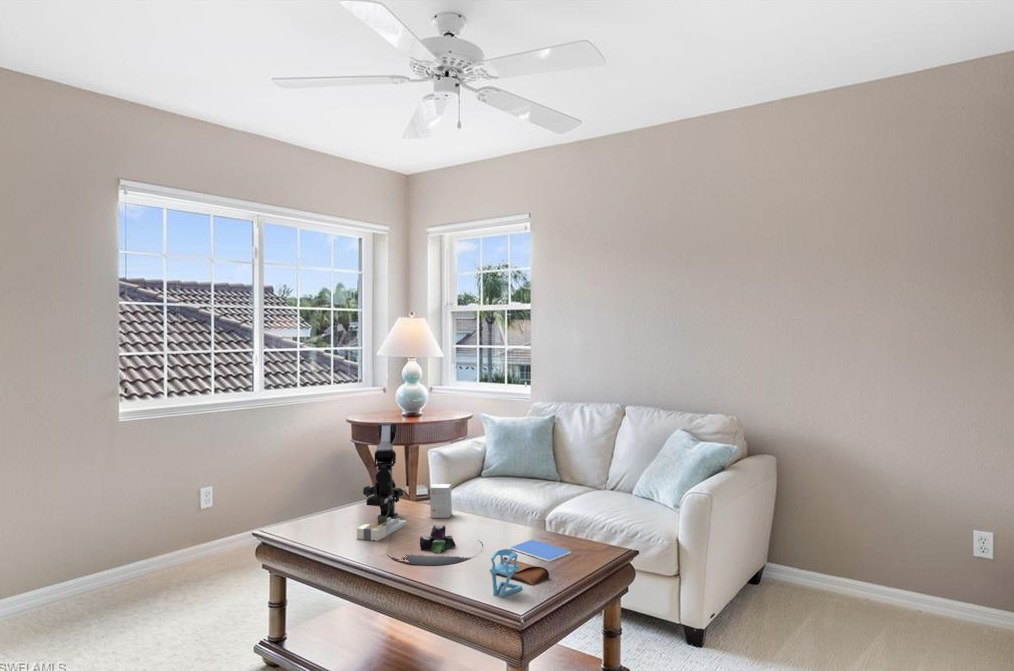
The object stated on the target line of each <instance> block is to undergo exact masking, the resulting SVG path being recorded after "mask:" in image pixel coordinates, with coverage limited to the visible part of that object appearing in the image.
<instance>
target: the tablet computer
mask: <svg viewBox="0 0 1014 671" xmlns="http://www.w3.org/2000/svg"><path fill="white" fill-rule="evenodd" d="M509 550H512V551H514V552H517V553H520V554H523V555H526V556H529V557H532V558H536V559H538V560H541V561H544V562H547V563H551V562H554V561H556V560H559V559H562V558H564V557H566V555H567V556H570V555H571V554H572V551H571V550H569V549H568V550H567V549H564V548H562V547H557V546H554V545H551V544H549V543H545V542H542V541H538V540H535V539H528V540H526V541H524V542H522V543H521V542H520V543H518V544H515V545H513V546H510V547H509ZM561 557H562V558H561Z"/></svg>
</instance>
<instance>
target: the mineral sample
mask: <svg viewBox="0 0 1014 671" xmlns="http://www.w3.org/2000/svg"><path fill="white" fill-rule="evenodd" d="M477 541H479V542H480V544H481V545H482V547H484V544H483V542H482V541H480V540H479V539H477ZM456 546H457V544H456V543H455V540H454V539H453V536H452V535H446V525H436V524H433V525H432V529H431V532H430V536H420V538H419V547H420V550H422V551H423V550H424V551H425V550H430V551H432V552H434V553H437V554H440V553H441V552H442V551H444V550H445V549H450V548H453V547H454V548H455V547H456ZM386 554H387V553H386ZM402 555H404V554H402ZM405 555H406V556H407V557H406V556H405ZM405 555H404V556H405V557H406V558H405V557H404V558H403V557H402V559H403V560H405V559H406V560H408V561H409V562H405V561H398V560H399V559H398V558H396V557H392V558H391V557H390V556H389V555H388V554H387V556H388V557H389V558H391V559H392V560H393V561H396V562H400V563H404V564H406V565H419V566H439V565H440V566H442V565H443V566H444V565H454V564H457V563H460V562H464V561H467V560H470V559H472V557H470V556H469V557H464V556H458V555H457V556H450V555H449V556H446V555H444V556H443V555H442V556H441V555H432V556H431V555H423V554H420V555H419V554H418V555H417V554H415V555H414V554H413V553H412V554H407V553H406V554H405ZM393 558H394V559H393Z"/></svg>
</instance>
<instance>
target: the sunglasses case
mask: <svg viewBox="0 0 1014 671" xmlns="http://www.w3.org/2000/svg"><path fill="white" fill-rule="evenodd" d="M507 559H508V557H503V563H506V560H507ZM513 562H514V559H512V560H511V561H510V562H509V563H508V564H510V565H514V564H513ZM516 565H517V566H519V569H518V570H516V571H515V572H514V574H513V575H512V577H511V579H510V580H513V581H516V582H521V583H523V584H526V585H528V586H533V587H534V586H536V585H538V584H540V583H542V582H543V581H546V580H548V579H549V577H550V573H549V571H548V569H546V568H545V567H543V566H537V565H532V564H529V563H526V562H522V561H518V560H516ZM496 576H498V577H503V578H506V579H507V576H505V575H502V574H498V573H496Z"/></svg>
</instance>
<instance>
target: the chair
mask: <svg viewBox="0 0 1014 671" xmlns="http://www.w3.org/2000/svg"><path fill="white" fill-rule="evenodd" d="M497 556H499V557H500V562H499V563H498V564H496V563H495V559H496V557H497ZM503 556H508V557H507V558H508V559H507V560H506V563H503V559H504V557H503ZM518 556H519V555H518V553H516V551H514V550H511V549H510V548H503V549H499V550H497V551H495V552H494V553H493V554H492V557H490V560H491V563H492V567H491V568H489V572H490V575H491V579H492V588H493V589H492V590H493V591H492V592H493V594H492V596H497V595H498V593H499V591H500V590H501V591H500V598H504V597H506V596H508V595H511V594H513V593H516V592H518V591H522V590H523V585H519V584H514V583H510V580H512V579H511V577H512V575H513V574H514V572H515V571H516V570H518V569H519V566H517V565H516V561H518V560H517V559H518ZM511 560H514V562H513V564H514V565H510V564H508V563H509V562H510V561H511ZM496 573H498V574H502V575H505V576H507V578H506V580H505V581H501V580H500V581H499V582H498V583H497V575H496ZM502 586H503V587H502ZM501 587H502V588H501ZM507 587H509V588H511V589H507Z"/></svg>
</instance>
